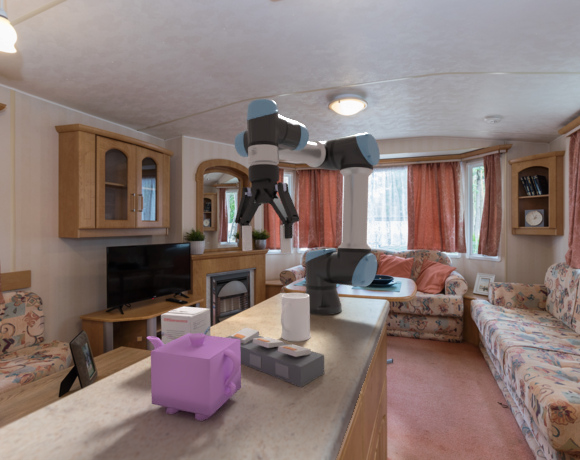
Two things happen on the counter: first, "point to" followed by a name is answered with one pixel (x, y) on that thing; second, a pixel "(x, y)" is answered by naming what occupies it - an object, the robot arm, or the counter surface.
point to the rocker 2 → (267, 342)
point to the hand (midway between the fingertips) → (265, 251)
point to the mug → (295, 317)
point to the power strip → (282, 363)
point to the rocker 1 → (245, 335)
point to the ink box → (184, 322)
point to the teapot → (195, 373)
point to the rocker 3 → (294, 350)
